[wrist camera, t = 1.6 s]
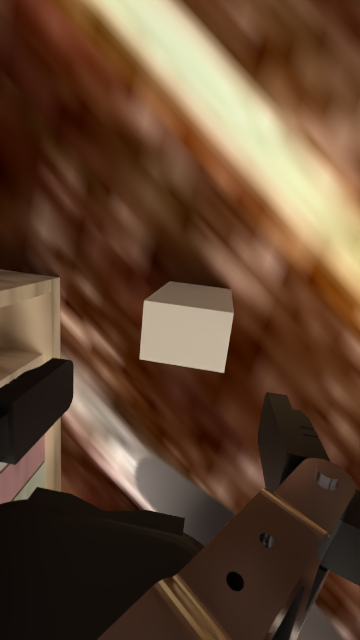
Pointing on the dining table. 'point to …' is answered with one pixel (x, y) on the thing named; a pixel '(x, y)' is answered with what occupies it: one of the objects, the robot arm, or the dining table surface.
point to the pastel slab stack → (25, 354)
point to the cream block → (187, 326)
